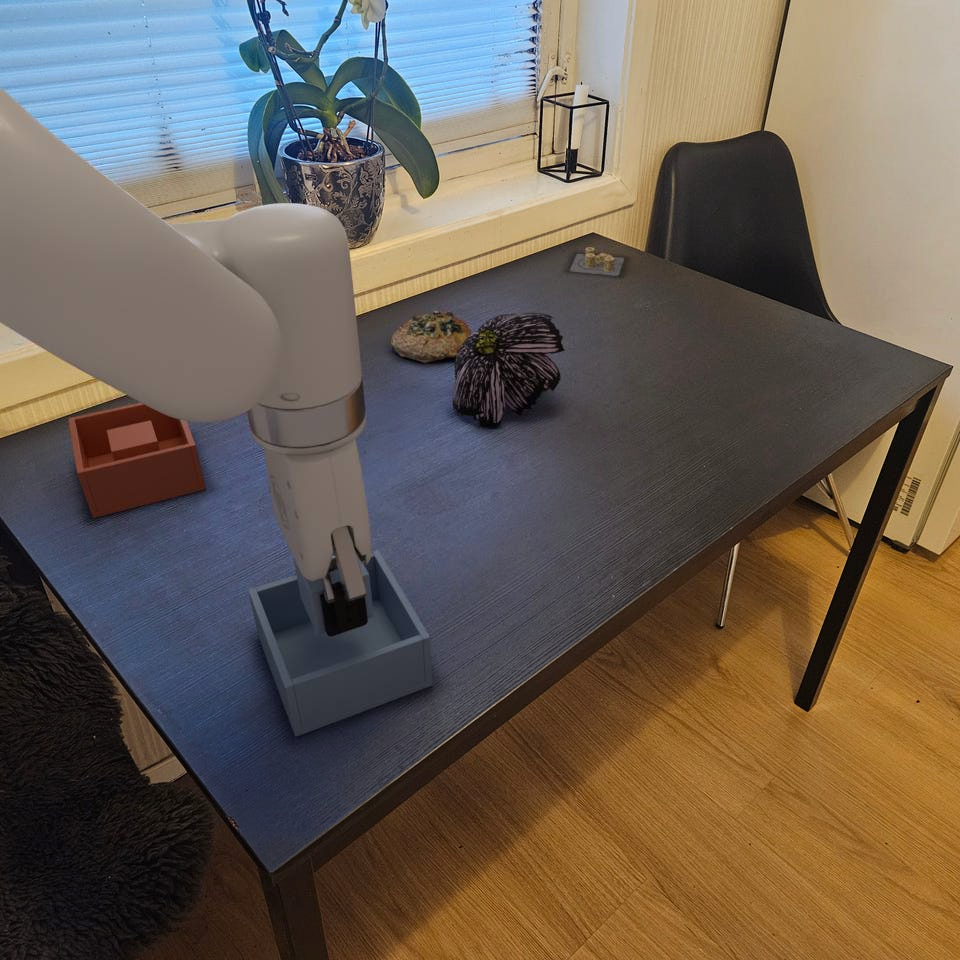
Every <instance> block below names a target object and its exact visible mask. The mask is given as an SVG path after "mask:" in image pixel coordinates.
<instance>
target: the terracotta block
mask: <svg viewBox="0 0 960 960" xmlns="http://www.w3.org/2000/svg"><path fill="white" fill-rule="evenodd" d="M107 435H108V439H109V444H110V448H111V452H112V455H113V459H114V461H118V460H122V459H126V458H131V457H135V456H139V455H143V454H147V453H152V452H156V451H160V449H159V445H158V441H157V438H156V435H155V432H154V429H153V425H152V422H151V421H146V422H141V423H137V424H132V425H128V426H124V427H119V428H115V429H110V430H107Z"/></svg>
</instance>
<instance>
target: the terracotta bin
mask: <svg viewBox="0 0 960 960" xmlns="http://www.w3.org/2000/svg"><path fill="white" fill-rule="evenodd" d="M67 420H68V425H69V432H70V437H71V444H72V450H73V455H74V462H75V468H76V473H77V476H78V479H79V482H80V486H81V488H82V491H83V494H84V496H85V499H86V502H87V505H88V508H89V511H90V513H91V517H92V518H93V519H96V518H101V517H105V516H108V515H111V514H115V513H120V512H123V511H128V510H131V509H135V508H139V507H143V506H147V505H150V504H154V503H158V502H162V501H166V500H169V499H173V498H176V497H181V496H185V495H188V494H192V493H197V492H200V491H204V490H206V489H207V485H206V482H205V478H204V474H203V470H202V466H201V462H200V461H201V460H200V456H199V452H198V449H197V446H196V443H195V440H194V439H195V438H194V436H193V434H192V432H191V429H190V426H189V424H188V421H185V420H180V419H176V418H173V417H170V416H167V415H165V414H163V413H161V412H159V411H157V410H154V409H152V408H150V407H148V406H147V405H145V404H143V403H141V402H137V403H132V404H128V405H123V406H118V407H114V408H109V409H105V410H100V411H95V412H91V413H87V414H81V415H77V416H72V417H68V419H67ZM146 421H151V422H152V425H153V429H154V432H155V435H156V438H157V441H158V445H159V449H160V451H156V452H152V453H147V454H143V455H139V456H135V457H131V458H126V459H122V460H118V461H114V459H113V455H112V452H111V448H110V444H109V439H108V435H107V430H110V429H115V428H119V427H124V426H128V425H132V424H137V423H141V422H146Z"/></svg>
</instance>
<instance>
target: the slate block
mask: <svg viewBox="0 0 960 960" xmlns="http://www.w3.org/2000/svg"><path fill="white" fill-rule="evenodd" d="M333 556H334V554H333ZM292 557H293V556H292ZM293 562H294V568H295V575H297V580H298V585H299V591H300V596H301V600H302V602H303V604H304V607H305V609H306V611H307V613H308V616H309V618H310V620H311V622H312V625H313V627H314V629H315V631H316V634H317V635H321V634H324V633H326V631H325V626H324V620H323V614H322V607H321V601H320V595H321V594H324V592H323V588H322V583H321V579H317V580H316V581H310V580H308V579H307V578H305V577H304V576H303V575H302V573H301V572H300V570H299V568H298V566H297V564H296V562H295V559H294V557H293ZM359 563H360V568H361V574H362V578H363V582H364V585H365V589H366V594H367V595H366V596H365V600H366V609H367V617H368V619H369V618H372V617H373V616H374V615H373V606H372V597H371V588H370V579H369V573H368V572H367V570H366V568H365V566H364V564H363V563H361V561H360V559H359ZM329 573H330V577H331V582H332V584H334V583H336V582H340V581H341V577H340V573H339V570H335V571H332V572H329Z"/></svg>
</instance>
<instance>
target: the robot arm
mask: <svg viewBox="0 0 960 960" xmlns="http://www.w3.org/2000/svg"><path fill="white" fill-rule="evenodd" d="M0 323H1V324H2V325H4V326H5V327H6V328H9V329H10V330H12V331H13V332H14V333H16V334H18V335H20V336H21V337H23V338H25V339H26V340H27V341H29V342H31V343H33V344H34V345H36V346H38V347H39V348H41V349H43V350H45V351H47V352H48V353H49V354H51V355H53V356H55V357H56V358H58V359H60V360H62V361H64V362H65V363H67V364H69V365H71V366H72V367H73V368H76V369H77V370H79V371H81V372H83V373H84V374H87V375H89V377H92V378H94V379H96V380H98V381H100V382H102V383H104V384H106V385H108V386H109V387H110V388H113V389H115V390H117V391H119V392H120V393H122V394H124V395H126V396H128V397H130V398H131V399H133V400H135V401H137V402H138V403H143V404H145V405H147V406H148V407H150V408H152V409H154V410H157V411H159V412H161V413H163V414H165V415H167V416H170V417H173V418H176V419H180V420H185V421H187V422H189V423H204V424H210V423H219V422H223V421H227V420H231V419H234V418H237V417H239V416H241V415H242V414H244V413H247V419H248V424H249V429H250V434H251V437H252V439H253V440H254V441H255V442H256V444H258V445H259V447H262V448H263V453H264V459H265V466H266V474H267V480H268V487H269V488H268V489H269V495H270V500H271V502H270V503H271V507H272V511H273V515H274V517H275V520H276V522H277V524H278V527H279V529H280V531H281V533H282V536H283V538H284V540H285V543H286V545H287V546H288V549H289V551H290V554H291V555H292V557H294V558H293V560H294V559H295V562H296V564H297V566H298V568H299V570H300V572H301V573H302V575H303V576H304V577H305V578H307V579H308V580H310V581H316V580H317V579H321V583H322V588H323V592H324V594H321V595H320V601H321V607H322V614H323V620H324V626H325V631H326V633H327V635H328V636H330V637H332V636H335V635H338V634H341V633H344V632H347V631H350V630H353V629H356V628H359V627H362V626H364V625H366V624H367V622H368V617H367V609H366V600H365V596H366V595H367V594H366V589H365V585H364V582H363V578H362V574H361V568H360V563H359V559H360V561H361V563H362V562H363V563H364V564H365V565H366V564H367V563H368V562H369V560H370V558H371V555H372V552H373V551H372V550H373V548H372V547H373V546H372V545H373V544H372V533H371V524H370V523H371V522H370V515H369V508H368V501H367V495H366V489H365V482H364V476H363V471H362V468H363V467H362V463H361V460H360V453H359V448H358V443H357V437H358V436H360V434H361V433H362V432H363V431H364V429H365V427H366V424H367V413H366V402H365V392H364V391H365V390H364V381H363V371H362V363H361V362H362V361H361V353H360V352H361V350H360V342H359V331H358V324H357V323H358V321H357V313H356V301H355V291H354V279H353V272H352V260H351V251H350V245H349V238H348V234H347V231H346V229H345V227H344V225H343V224H342V221H341V220H340V219H339V218H338V216H336V215H335V214H333V213H332V212H330V211H329V210H326V209H325V208H322V207H319V206H315V205H311V204H303V203H295V202H293V203H291V202H287V203H286V202H281V203H280V202H279V203H270V204H263V205H258V206H254V207H251V208H248V209H245V210H241V211H239V212H237V213H235V214H233V215H231V216H230V217H228V218H221V219H212V220H201V221H200V220H199V221H186V222H167V221H165V220H164V219H162V218H161V216H159V215H158V214H156V213H155V212H154V211H152V210H151V209H150V208H148V207H147V206H146V205H144V204H143V203H141V202H140V201H139V200H137V199H136V198H135V197H134V196H133V195H131V194H130V193H129V192H127V191H126V190H125V189H123V188H122V187H121V186H119V185H118V184H117V183H116V182H114V181H113V180H112V179H110V178H109V177H108V176H107V175H105V174H104V173H103V172H101V171H100V170H99V169H98V168H96V167H95V166H94V165H93V164H91V162H89V161H88V160H86V159H85V158H84V157H83V156H81V155H80V154H79V153H77V151H75V150H74V149H73V148H71V147H70V146H69V145H68V144H66V143H65V142H64V141H62V140H61V139H60V138H59V137H57V136H56V135H55V134H54V133H53V132H51V131H50V130H49V129H48V128H47V127H46V126H45V125H43V124H42V123H41V122H40V121H39V120H38V119H36V117H34V116H33V115H32V114H31V113H30V112H29V111H28V110H27V109H26V108H25V107H23V106H22V105H21V103H19V102H18V101H17V100H16V99H15V98H13V97H12V96H11V95H10V94H9V93H8V92H7V91H5V90H4V89H3V88H2V87H1V86H0ZM333 554H334V556H333ZM335 570H339V573H340V577H341V581H340V582H336V583H334V584H332V582H331V577H330V573H329V572H332V571H335Z"/></svg>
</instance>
